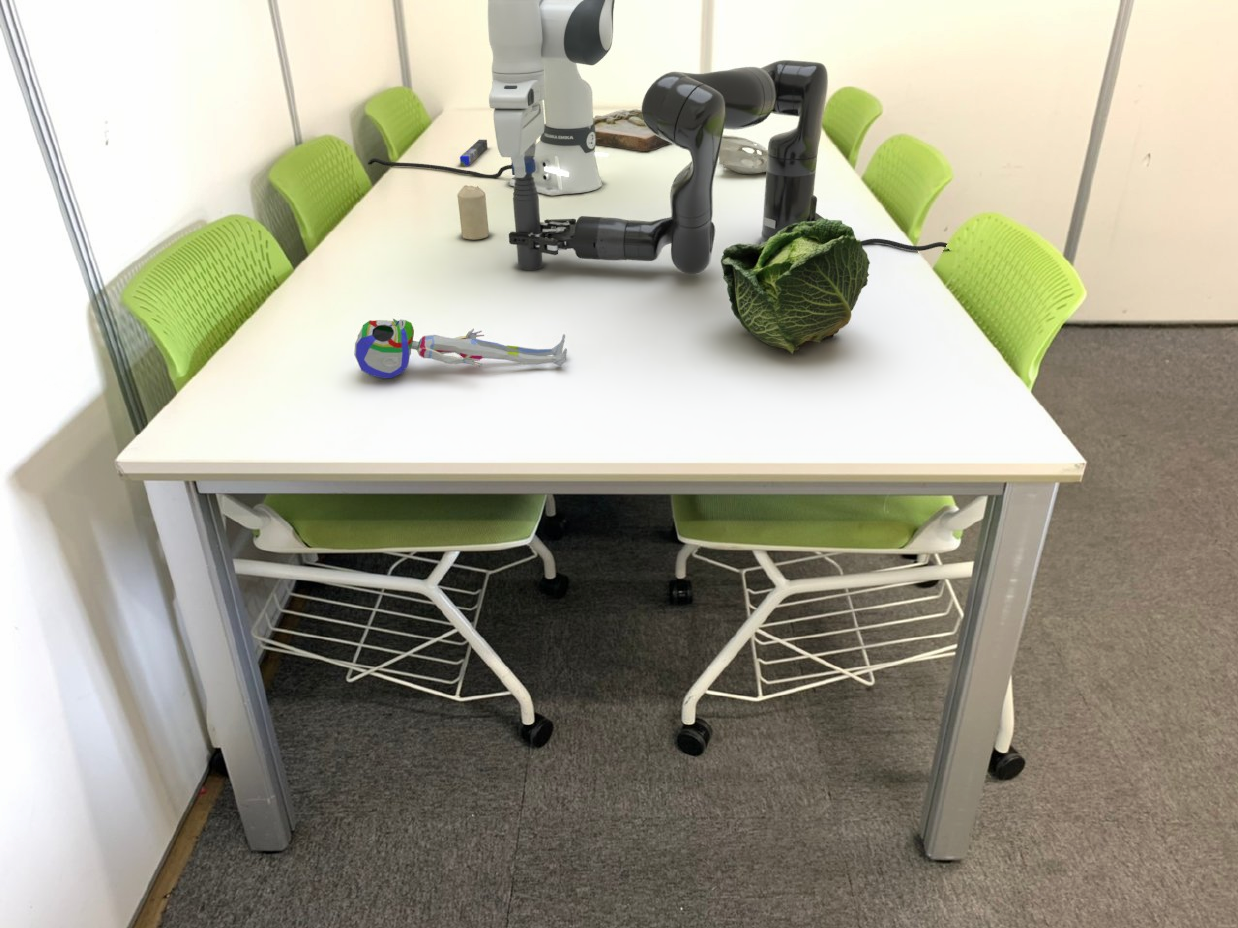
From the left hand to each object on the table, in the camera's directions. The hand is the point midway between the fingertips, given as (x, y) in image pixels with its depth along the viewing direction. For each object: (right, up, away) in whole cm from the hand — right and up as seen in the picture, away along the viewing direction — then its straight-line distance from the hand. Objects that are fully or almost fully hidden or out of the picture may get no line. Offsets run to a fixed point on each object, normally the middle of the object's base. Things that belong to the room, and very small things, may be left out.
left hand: (525, 171), depth 159 cm
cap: (0, +1, -1) cm, 2 cm away
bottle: (0, -15, +9) cm, 17 cm away
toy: (-6, -38, -27) cm, 47 cm away
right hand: (-3, -9, +7) cm, 12 cm away
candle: (-13, -5, +25) cm, 28 cm away
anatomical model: (+50, +21, +65) cm, 84 cm away
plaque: (+21, +43, +100) cm, 111 cm away
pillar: (-22, +30, +81) cm, 90 cm away
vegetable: (+43, -33, -20) cm, 58 cm away
